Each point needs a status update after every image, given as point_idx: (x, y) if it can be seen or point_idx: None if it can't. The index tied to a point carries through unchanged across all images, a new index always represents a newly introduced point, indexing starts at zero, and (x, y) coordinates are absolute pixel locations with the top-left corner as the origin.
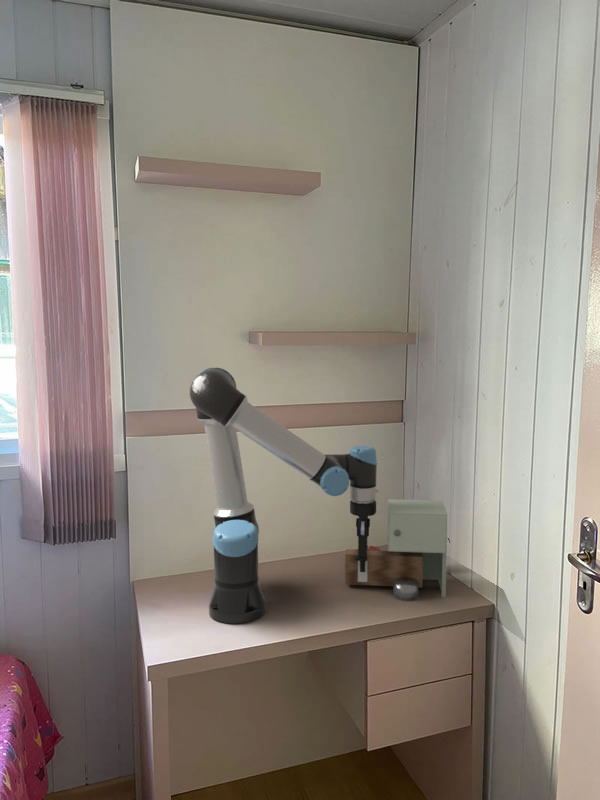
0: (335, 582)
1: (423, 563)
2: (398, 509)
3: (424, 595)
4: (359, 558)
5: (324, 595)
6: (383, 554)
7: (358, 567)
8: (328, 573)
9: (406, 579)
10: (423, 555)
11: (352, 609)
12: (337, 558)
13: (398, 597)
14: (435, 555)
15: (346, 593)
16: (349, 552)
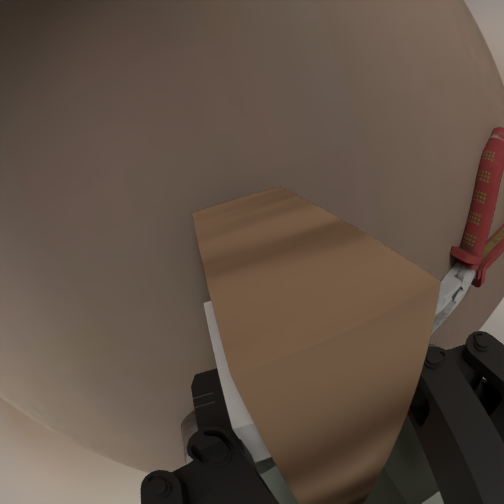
0: (258, 119)
1: None
2: None
3: None
4: (147, 500)
5: (52, 135)
6: (320, 499)
7: (219, 376)
8: (363, 59)
9: (259, 461)
10: (395, 459)
11: (8, 322)
12: (482, 95)
13: (183, 427)
14: (389, 472)
15: (126, 239)
16: (327, 383)
